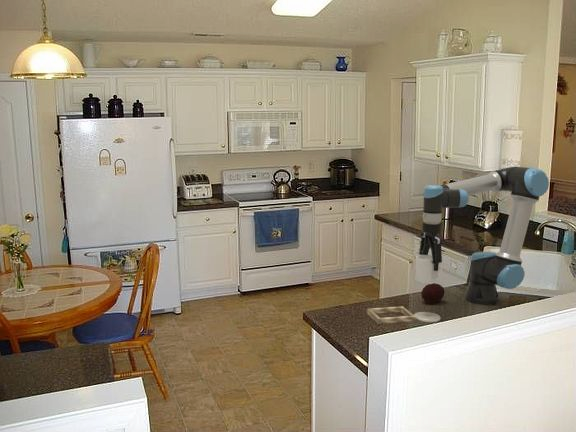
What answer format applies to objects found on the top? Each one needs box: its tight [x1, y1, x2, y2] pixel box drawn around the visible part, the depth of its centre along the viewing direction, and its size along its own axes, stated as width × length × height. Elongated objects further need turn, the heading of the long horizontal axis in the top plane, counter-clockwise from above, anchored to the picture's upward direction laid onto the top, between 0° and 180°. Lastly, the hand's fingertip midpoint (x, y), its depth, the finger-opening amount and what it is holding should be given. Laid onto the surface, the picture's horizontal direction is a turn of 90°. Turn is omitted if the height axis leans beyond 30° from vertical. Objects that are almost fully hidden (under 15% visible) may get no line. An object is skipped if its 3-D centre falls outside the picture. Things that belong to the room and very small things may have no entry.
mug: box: [414, 254, 443, 285], centre depth 232 cm, size 9×12×11 cm
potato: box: [421, 282, 446, 303], centre depth 255 cm, size 9×12×9 cm
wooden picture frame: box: [366, 306, 417, 325], centre depth 236 cm, size 17×14×2 cm
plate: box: [413, 311, 441, 324], centre depth 235 cm, size 11×11×1 cm
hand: (429, 274), depth 232 cm, fingers closed on mug, 9 cm apart
